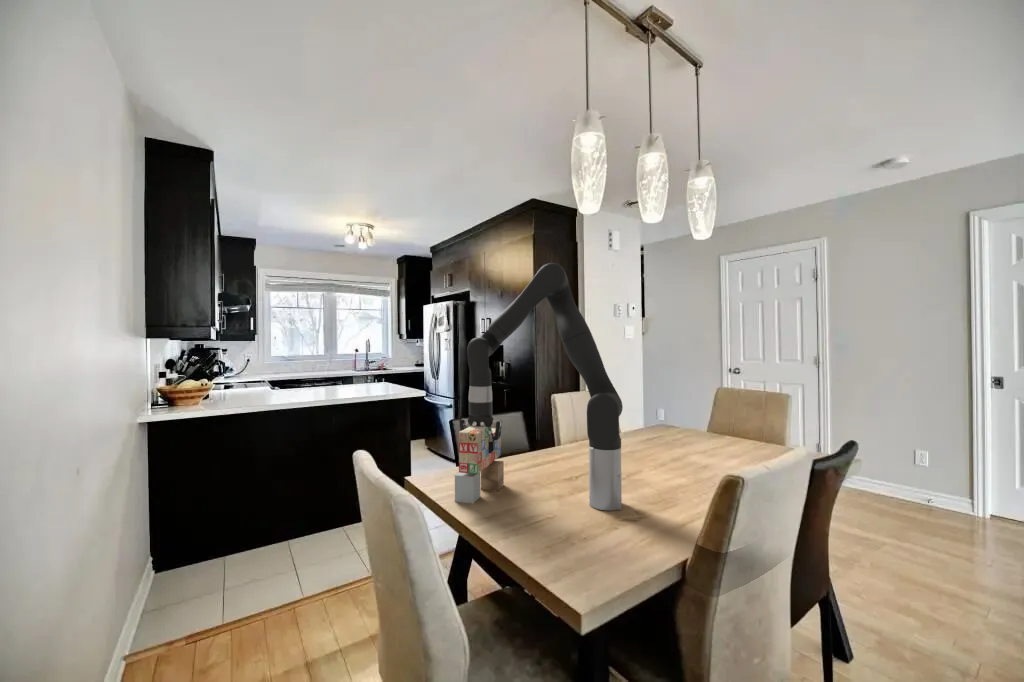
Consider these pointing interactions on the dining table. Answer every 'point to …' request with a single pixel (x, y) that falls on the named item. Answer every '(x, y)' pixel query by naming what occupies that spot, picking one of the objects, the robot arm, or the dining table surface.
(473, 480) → the grey rectangular block
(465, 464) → the stack of blocks
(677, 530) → the dining table surface
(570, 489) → the dining table surface
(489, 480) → the brown wooden block
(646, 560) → the dining table surface
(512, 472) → the dining table surface
